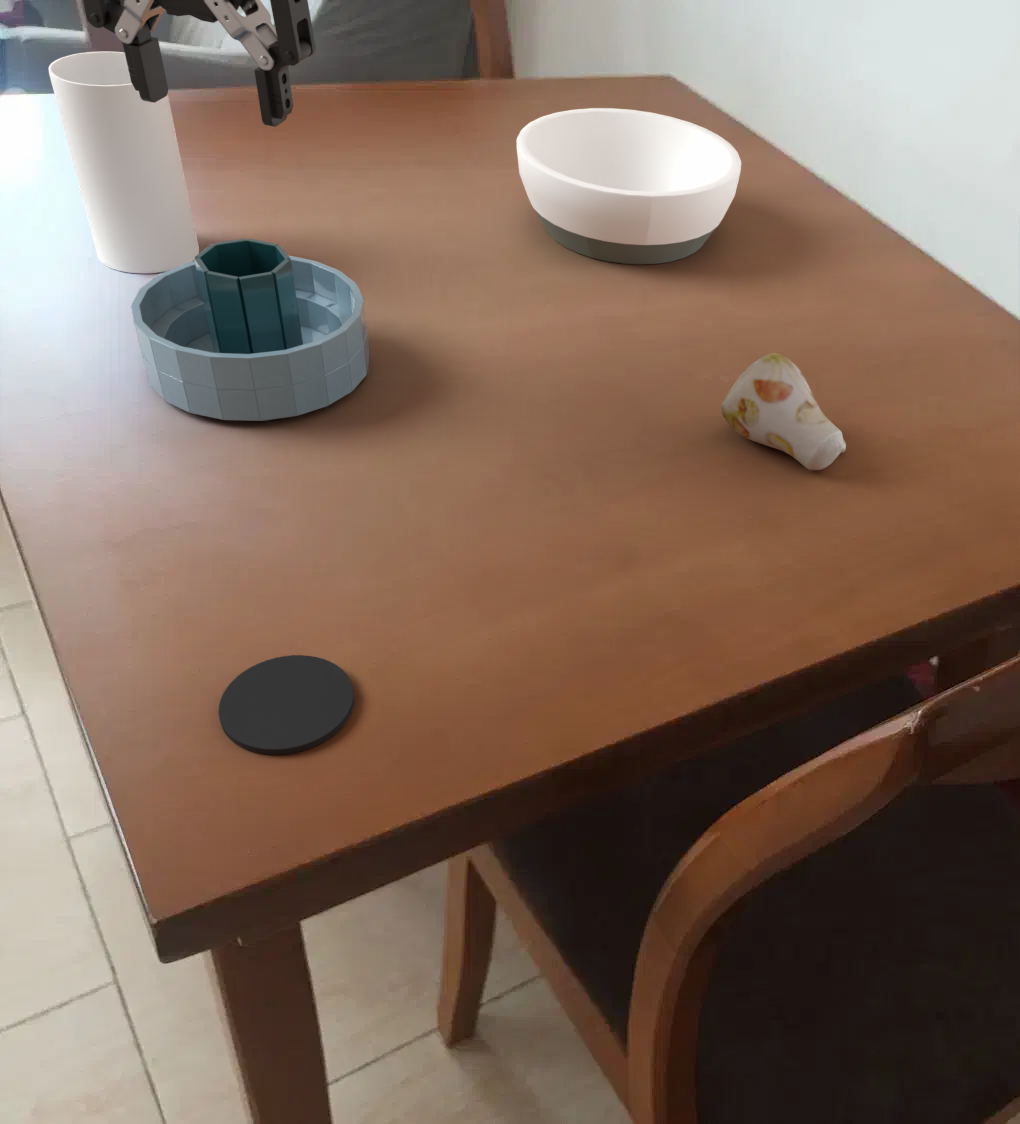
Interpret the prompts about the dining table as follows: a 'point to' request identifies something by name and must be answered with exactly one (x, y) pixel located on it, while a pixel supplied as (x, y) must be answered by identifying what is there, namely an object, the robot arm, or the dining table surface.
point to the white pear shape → (782, 413)
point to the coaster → (286, 704)
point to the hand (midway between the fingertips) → (215, 110)
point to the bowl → (627, 182)
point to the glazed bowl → (261, 378)
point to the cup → (124, 164)
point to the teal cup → (249, 297)
